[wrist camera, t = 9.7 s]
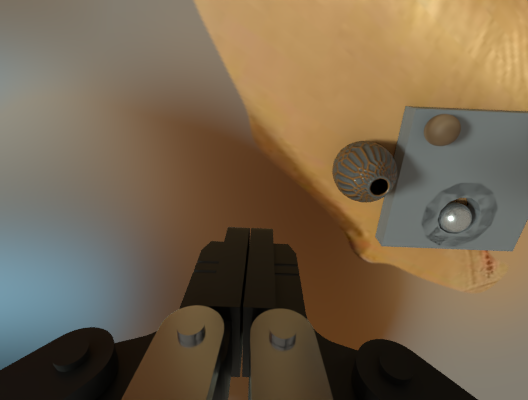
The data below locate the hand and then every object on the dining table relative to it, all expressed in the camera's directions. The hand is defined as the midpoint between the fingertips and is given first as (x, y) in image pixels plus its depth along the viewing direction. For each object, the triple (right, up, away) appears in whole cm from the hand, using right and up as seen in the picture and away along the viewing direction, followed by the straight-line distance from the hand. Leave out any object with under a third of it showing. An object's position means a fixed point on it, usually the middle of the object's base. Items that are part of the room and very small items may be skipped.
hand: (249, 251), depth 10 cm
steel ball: (+25, -1, +27) cm, 37 cm away
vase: (+12, +7, +27) cm, 30 cm away
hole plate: (+26, +4, +27) cm, 38 cm away
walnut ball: (+20, +9, +21) cm, 30 cm away
